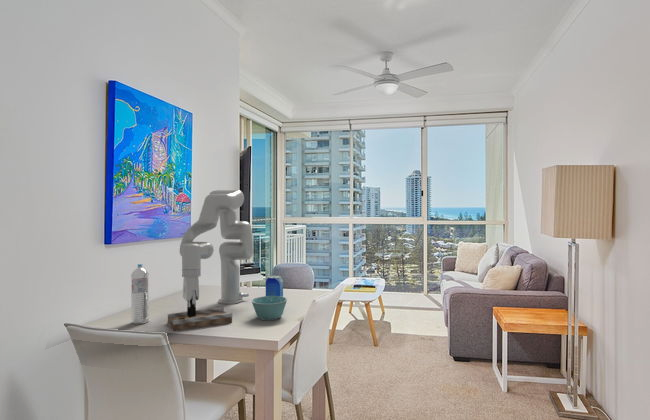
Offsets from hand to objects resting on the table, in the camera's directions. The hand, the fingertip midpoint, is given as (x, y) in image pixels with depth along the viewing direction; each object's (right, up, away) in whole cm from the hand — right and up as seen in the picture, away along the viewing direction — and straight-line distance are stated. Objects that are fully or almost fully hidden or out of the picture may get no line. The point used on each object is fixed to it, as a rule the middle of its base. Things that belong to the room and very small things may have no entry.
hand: (191, 316), depth 177 cm
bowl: (+32, -4, +10) cm, 33 cm away
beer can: (+32, -4, +26) cm, 41 cm away
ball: (-1, -2, -1) cm, 3 cm away
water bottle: (-23, -4, +3) cm, 23 cm away
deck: (+3, -3, +2) cm, 5 cm away
